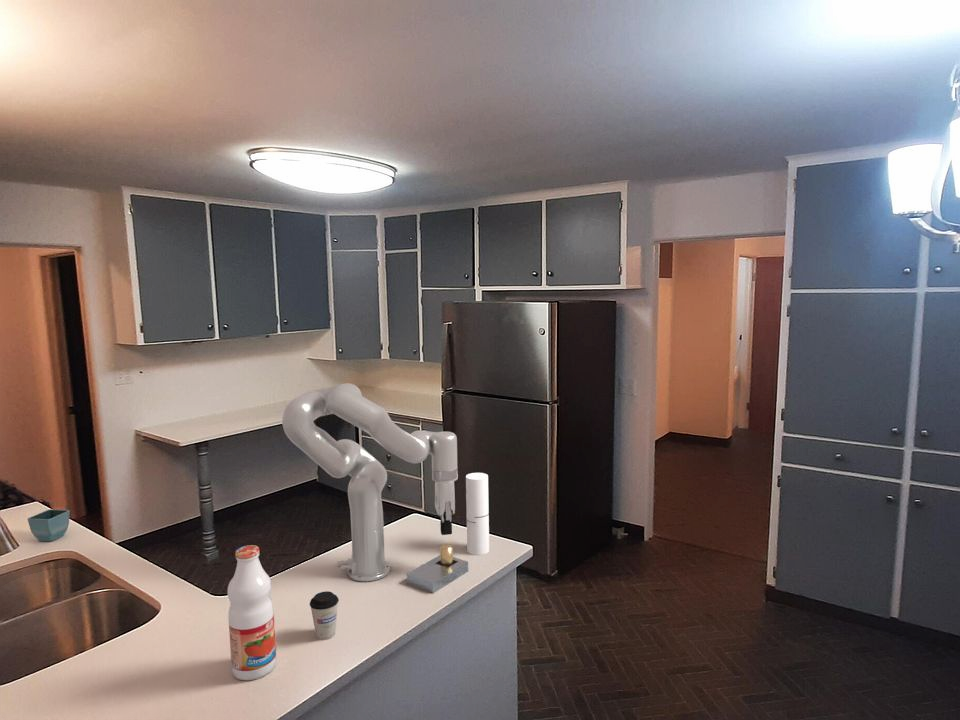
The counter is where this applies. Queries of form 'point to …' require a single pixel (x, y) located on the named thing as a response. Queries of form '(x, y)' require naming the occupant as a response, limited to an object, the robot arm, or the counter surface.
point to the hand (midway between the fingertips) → (446, 533)
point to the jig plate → (436, 574)
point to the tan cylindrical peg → (446, 555)
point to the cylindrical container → (477, 513)
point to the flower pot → (49, 524)
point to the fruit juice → (251, 617)
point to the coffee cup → (324, 614)
